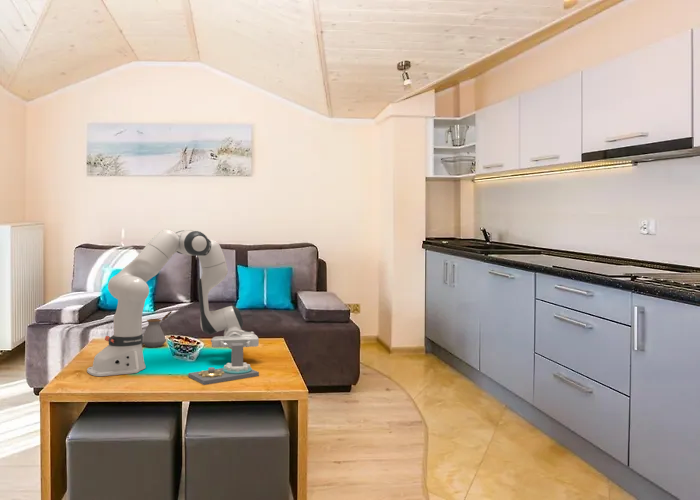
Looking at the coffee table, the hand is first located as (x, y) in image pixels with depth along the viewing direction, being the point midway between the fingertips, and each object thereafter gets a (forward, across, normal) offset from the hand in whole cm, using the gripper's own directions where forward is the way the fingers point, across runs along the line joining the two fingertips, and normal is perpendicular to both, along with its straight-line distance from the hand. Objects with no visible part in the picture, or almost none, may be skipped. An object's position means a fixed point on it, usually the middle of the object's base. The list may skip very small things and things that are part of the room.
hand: (236, 345), depth 260 cm
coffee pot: (-52, -35, +10) cm, 63 cm away
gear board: (+15, -5, +9) cm, 18 cm away
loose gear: (+12, 0, +7) cm, 14 cm away
